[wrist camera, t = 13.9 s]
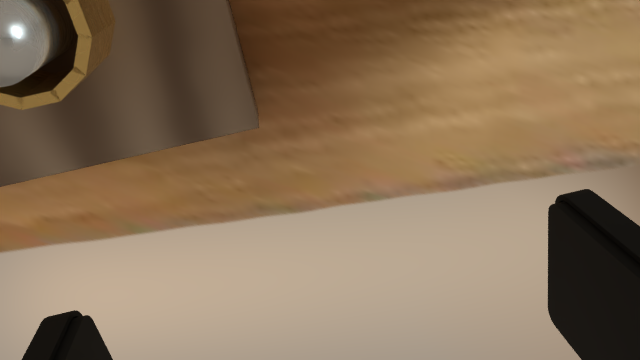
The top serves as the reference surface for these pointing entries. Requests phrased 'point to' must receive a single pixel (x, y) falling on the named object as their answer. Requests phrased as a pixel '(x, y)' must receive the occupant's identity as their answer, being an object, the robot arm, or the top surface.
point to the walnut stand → (137, 93)
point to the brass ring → (92, 48)
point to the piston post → (32, 36)
